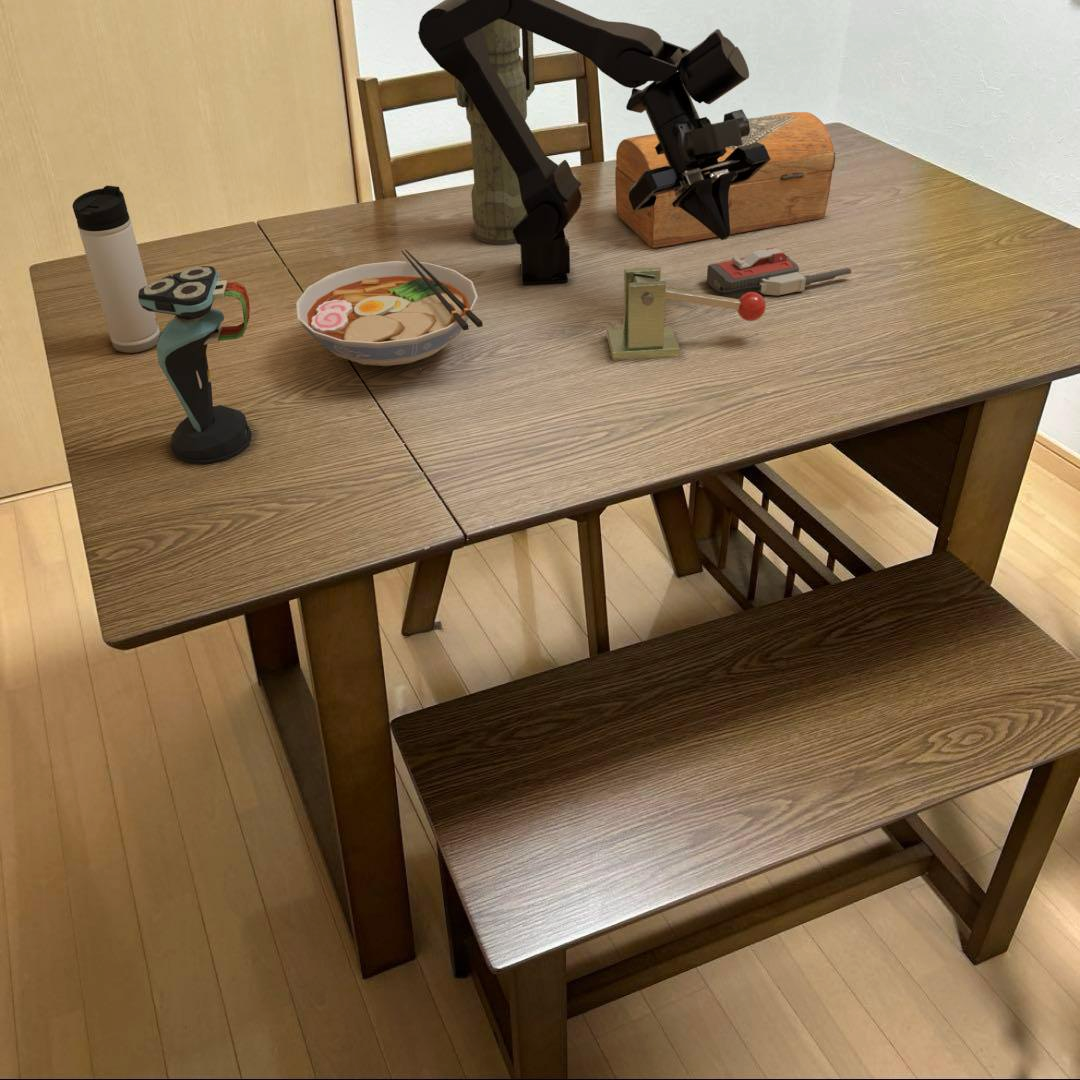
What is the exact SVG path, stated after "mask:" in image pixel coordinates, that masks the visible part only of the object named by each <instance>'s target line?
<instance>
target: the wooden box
mask: <svg viewBox="0 0 1080 1080" xmlns="http://www.w3.org/2000/svg"><path fill="white" fill-rule="evenodd" d="M747 119H748V122H749V127H750V133H749V135H748V136H744V137H741V138H742V144H743V145H740V146H735V145H734V146H730V147H726V151H727V152H726V153H725V154H724V155H723V156H722V157H719V158H718V159H717V160H718V162H720V161H724V160H725V159H726V158H727V157H728V156H729V155H730V154H731V153H732V152H733V151H734V150H735V149H736V148H737V147H741V146H745V145H749V144H753V143H757V142H758V143H761V144H763V145H764V146H765V147H766V149H767V152H768V154H769V156H770V158H771V160H770V161H769V162H768V163H766V164H765V165H764V166H763V167H762V168H761V169H760V170H759V171H758V172H757V173H756V174H754V175H753V176H752V177H751V178H750V179H748V180H746V181H745V182H741V183H737V184H734V185H730V188H729V198H728V205H729V221H730V235H735V234H741V233H746V232H752V231H758V230H763V229H764V230H765V229H769V228H774V227H775V228H776V227H780V226H781V227H782V226H786V225H793V224H799V223H803V222H809V221H816V220H821V219H824V218H825V217H826V213H827V209H828V208H827V207H828V203H829V198H830V193H831V191H830V190H831V185H832V178H833V171H834V169H835V165H836V151H835V149H834V144H833V142H832V138H831V135H830V132H829V131H828V128H827V126H826V125H825V123H823V121H822V120H821V119H820V118H819V117H818V116H816V115H815V114H813V113H811V112H808V111H795V112H784V113H777V114H771V115H765V116H758V117H750V118H747ZM720 122H721V121H720ZM720 122H718V123H720ZM716 123H717V122H714V123H713V124H716ZM658 144H659V141H658V138H657V136H656V134H655V133H651V134H645V135H644V134H643V135H638V136H631V137H628V138H625V139H623V140H621V141H620V142H619V143H618V146H617V149H616V151H615V153H616V154H615V164H616V165H615V175H614V176H615V177H614V182H615V184H614V185H615V208H616V210H615V211H616V216H617V217H619V219H620V220H621V221H623V223H625V225H627V226H628V227H629V228H630V229H631V230H632V231H633V232H634V233H635V234H636V235H637V236H638V237H639V238H640V239H642V240H643V241H644V242H645V243H646V244H647V245H648V246H649V247H651V248H661V247H668V246H673V245H678V244H679V245H680V244H684V243H690V242H695V241H700V240H701V241H702V240H706V239H712V238H718V237H717V236H716V235H715V234H714V233H713V232H711V231H710V230H709V229H708V228H707V227H705V226H704V225H703V224H702V223H701V222H699V221H698V220H697V219H696V218H694V217H693V216H691V215H690V214H689V213H687V212H686V211H684V210H683V209H681V208H680V207H673V205H672V203H673V202H674V201H675V200H676V199H677V198H676V195H675V192H674V190H673V191H669V192H666V193H662V194H658V195H656V201H655V204H654V206H653V207H650V208H647V209H643V210H640V211H636V212H635V211H634V210H633V208H632V205H631V203H630V201H629V190H630V188H631V187H632V186H633V185H634V183H635V182H636V181H637V180H638V179H639V178H640V177H641V176H642V175H643V173H644V172H645V171H648V170H652V169H656V168H660V167H664V166H669V164H668V161H667V159H666V157H665V154H660V155H658V154H657V152H656V149H655V147H656V146H657V145H658ZM708 173H710V172H708ZM706 174H707V173H706Z"/></svg>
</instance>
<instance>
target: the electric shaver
mask: <svg viewBox="0 0 1080 1080" xmlns="http://www.w3.org/2000/svg"><path fill="white" fill-rule="evenodd" d="M226 297H233V298H234V297H235V298H236V299H237V300H238V301H240V303H241V308H242V314H243V315H242V316H243V322H242V323H240V324H238V325H227V326H226V325H225V326H224V325H223V324H222V323H223V322H224V321H225V316H224V313H223V312H222V310H221V309H217V308H212V307H213V303H214V301H217V300H225V298H226ZM138 300H139V303H140V305H141V306H142V308H144V309H146V310H147V311H151V312H155V313H159V314H167V315H173V316H174V318H173V319H171V320H170V321H168V322H167V323H166V325H165V326H164V328H163V329H162V331H160V336H159V338H158V341H157V345H156V350H157V351H156V352H157V363H158V366H159V367H160V369H161V370H162V372H163V374H164V376H165V377H166V379H167V381H168V383H169V384H170V387H171V388H172V389H173V392H174V393H175V394H176V397H177V399H178V401H179V402H180V404H181V406H182V408H183V411H184V412H185V414H186V417H185V418H184V419H183V420H181V422H180V423H179V424H178V425H177V427H176V428H175V429H174V431H173V432H172V434H171V444H170V449H171V453H172V454H173V455H174V457H176V459H178V460H179V461H182V462H185V463H188V464H192V465H209V464H214V463H220V462H225V461H228V460H230V459H231V458H233V457H236V456H238V455H240V454H242V452H244V451H245V450H246V449H247V448H248V447H249V446H250V444H251V440H252V436H253V433H252V431H251V428H250V426H248V422H247V418H246V415H245V414H244V413H243V412H242V411H241V410H239V409H236V408H232V407H228V406H225V405H221V404H219V405H214V404H213V403H214V402H213V386H212V379H211V373H210V367H209V362H208V357H207V349H208V345H216V344H220V341H233V340H238V339H240V338H243V336H244V334H245V332H246V331H247V330H248V329H247V328H248V323H249V320H250V314H251V313H250V312H251V308H250V298H249V294H248V291H247V288H246V286H245V285H243V284H241V283H238V282H237V281H231V282H230V281H229V282H228V280H226V279H225V280H220V275H219V271H217V270H216V268H215V267H214V266H212V265H211V266H209V265H201V266H196V267H191V268H187V269H185V270H183V271H180V272H176V273H173V274H169V275H166V276H165V277H162V278H160V279H157V280H154V281H152V282H151V283H149V284H148V285H147V286H145V287H143V288H141V289H140V290H139V294H138Z"/></svg>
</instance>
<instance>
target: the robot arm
mask: <svg viewBox="0 0 1080 1080" xmlns="http://www.w3.org/2000/svg"><path fill="white" fill-rule="evenodd" d="M498 19H503V20H505V21H508V22H510V23H512V24H514V25H517V26H519V27H521V28H524V29H526V30H528V31H530V32H533V34H535V35H537V36H540V37H542V38H544V39H546V40H549V41H551V42H553V43H556V44H558V45H560V46H562V47H565V48H567V49H569V50H571V51H573V52H576V53H578V54H580V55H583V56H584V57H586V58H587V59H588V60H590V61H591V62H592V64H594V65H595V66H596V68H598V70H599V71H600V72H601V73H602V74H604V75H606V76H607V77H609V79H610V78H611V79H612V80H613V81H615V82H616V83H618V84H619V85H621V86H623V87H624V88H628V89H631V94H630V97H629V99H628V101H627V103H626V105H625V108H626V110H627V111H630V112H635V113H638V114H639V113H640V114H642V113H644V112H646V116H647V118H648V119H649V122H650V124H651V126H652V130H653V131H654V134H656V136H657V138H658V141H659V144H658V145H657V146H656V147H655V149H656V152H657V154H658V155H660V154H665V157H666V159H667V161H668V164H669V166H664V167H660V168H656V169H652V170H648V171H645V172H644V173H643V175H642V176H641V177H640V178H639V179H638V180H637V181H636V182H635V183H634V185H633V186H632V187H631V188H630V190H629V201H630V203H631V205H632V208H633V210H634V211H635V212H636V211H640V210H643V209H647V208H650V207H653V206H654V204H655V201H656V195H658V194H662V193H666V192H669V191H673V190H674V192H675V195H676V198H677V199H676V200H675V201H674V202H673V203H672V205H673V207H680V208H681V209H683V210H684V211H686V212H687V213H689V214H690V215H691V216H693V217H694V218H696V219H697V220H698V221H699V222H701V223H702V224H703V225H704V226H705V227H707V228H708V229H709V230H710V231H711V232H713V233H714V234H715V235H716V236H717V237H716V238H718V239H719V240H721V241H724V240H727V239H728V238H729V237H731V234H730V221H729V205H728V198H729V188H730V185H734V184H737V183H741V182H745V181H746V180H748V179H750V178H751V177H752V176H753V175H754V174H756V173H757V172H758V171H759V170H760V169H761V168H762V167H763V166H764V165H765V164H766V163H768V162H769V161H770V160H771V158H770V156H769V154H768V152H767V149H766V147H765V146H764V145H763V144H761V143H758V142H757V143H753V144H749V145H745V146H741V147H737V148H736V149H735V150H734V151H733V152H732V153H731V154H730V155H729V156H728V157H727V158H726V159H725V160H724V161H720V162H718V160H717V159H718V158H719V157H722V156H723V155H724V154H725V153H726V152H727V151H726V147H730V146H734V145H735V146H740V145H743V144H742V138H741V137H744V136H748V135H749V133H750V127H749V122H748V119H749V118H748V116H746V114H745V111H744V110H743V109H742V108H741V109H738V110H734V111H730V112H727V113H725V114H724V115H723V121H720V123H719V122H715V123H716V124H714V123H711V120H710V118H708V116H704V117H700V115H699V112H698V110H697V108H696V107H695V104H694V101H695V102H697V103H698V104H702V103H704V104H706V105H711V104H713V103H714V102H716V101H717V100H718V99H720V98H721V97H723V96H724V95H726V94H727V93H729V92H730V91H732V90H733V89H734V88H736V87H737V86H739V85H741V84H743V82H745V81H747V80H748V79H749V77H750V70H749V67H748V63H747V62H746V60H745V57H744V55H743V53H742V52H741V50H740V48H739V47H738V46H735V44H734V43H733V42H732V41H731V40H730V39H729V38H728V37H726V36H725V35H724V34H723V33H722V31H721V30H720V29H718V28H716V29H715V30H713V31H712V32H711V33H710V34H709V35H707V37H706V38H705V39H704V40H703V41H701V42H700V43H699V44H697V45H696V46H694V47H693V48H691V49H688V48H684V47H682V46H680V45H677V44H674V43H672V42H668V41H666V40H663V39H662V36H661V35H660V34H659V33H658V32H657V31H656V30H654V29H653V28H650V27H646V26H642V25H638V24H634V23H629V22H624V21H623V22H622V21H608V20H604V19H599V18H597V17H595V16H593V15H590V14H588V13H585V12H584V11H581V10H579V9H577V8H574V7H572V6H570V5H567V4H565V3H563V2H561V1H558V0H443V1H441V2H439V3H438V4H436V5H435V6H434V7H431V8H430V9H428V10H427V11H426V12H425V13H423V15H422V16H421V19H420V21H419V24H418V25H419V26H418V31H417V34H418V39H419V42H420V43H421V45H422V47H423V48H424V50H425V51H426V52H427V53H428V54H429V56H430V57H431V58H432V59H433V60H434V61H435V63H436V64H437V65H438V66H439V67H440V68H441V69H442V70H444V71H445V72H447V73H448V74H449V75H451V76H452V77H453V78H454V77H455V78H456V79H458V80H459V82H460V83H461V84H462V86H463V87H464V89H465V91H466V92H467V94H468V96H469V97H470V99H471V101H472V102H473V104H474V106H475V107H476V109H477V111H478V112H479V114H480V116H481V117H482V119H483V121H484V122H485V124H486V125H487V127H488V129H489V130H490V132H491V134H492V135H493V137H494V139H495V140H496V142H497V144H498V145H499V147H500V149H501V150H502V152H503V154H504V155H505V157H506V158H507V160H508V162H509V163H510V165H511V167H512V168H513V170H514V172H515V173H516V175H517V178H518V182H519V188H520V193H521V199H522V203H523V205H524V207H525V210H526V212H527V214H526V215H525V216H524V217H523V219H522V220H521V221H520V222H519V223H518V225H517V226H516V227H515V228H514V229H513V234H514V237H515V239H516V244H517V245H519V249H520V250H519V253H520V264H519V272H520V279H521V285H522V286H535V285H552V284H553V285H554V284H566V283H568V281H569V278H568V275H570V273H571V254H570V253H571V247H570V246H571V245H570V243H569V240H568V239H567V238H566V234H565V228H566V227H567V226H568V225H569V223H570V222H571V220H572V219H573V218H574V216H575V215H576V214H577V212H578V211H579V209H580V208H581V205H582V204H581V203H582V199H583V197H582V192H581V190H580V187H581V185H582V182H580V181H579V180H578V179H577V178H576V176H574V173H573V171H572V169H571V166H570V164H569V163H568V161H567V159H563V160H562V161H561V162H560V163H559V164H557V163H556V162H554V161H553V160H552V159H551V158H549V157H548V156H547V155H546V154H545V152H544V150H543V149H542V147H541V146H540V143H539V142H538V140H537V138H536V137H535V135H534V133H533V131H532V130H531V128H530V127H529V125H528V123H527V121H526V120H524V118H523V116H522V115H521V113H520V111H519V110H518V108H517V106H516V105H515V103H514V101H513V99H512V98H511V96H510V94H509V93H508V91H507V89H506V88H505V86H504V84H503V82H502V81H501V79H500V77H499V76H498V74H497V72H496V71H495V69H494V67H493V66H492V64H491V62H490V59H489V56H488V50H487V45H486V39H485V34H484V32H483V29H482V28H483V27H485V26H486V25H488V24H490V23H492V22H494V21H496V20H498ZM455 78H454V79H455ZM648 82H651V83H650V84H648V85H647V86H645V85H646V84H647V83H648ZM641 86H642V87H643V86H645V87H644V88H642V89H639V87H641ZM708 172H710V173H708ZM706 173H707V174H706Z"/></svg>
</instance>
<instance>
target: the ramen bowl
mask: <svg viewBox="0 0 1080 1080" xmlns="http://www.w3.org/2000/svg"><path fill="white" fill-rule="evenodd" d="M404 250H405V252H406V253H405V252H404V251H403V250H401V251H400V252H401V253H402V255H403V256H404V258H406V260H407V261H402V260H392V261H382V262H374V263H366V264H365V263H364V264H359V265H355V266H352V267H349V268H346V269H343V270H339V271H336V272H332V273H330V274H328V275H326V276H324V277H322V279H319V280H317V281H315V282H314V283H312V284H310V285H309V286H307V287H306V289H305V290H304V291H303V292H302V294H301V295H300V297H299V298H298V300H296V302H295V304H296V305H295V306H296V318H297V320H298V322H299V323H300V324H301V326H302V327H303V328H304V329H305V330H306V331H307V332H308V333H309V334H310V335H311V336H312V338H314V339H315V340H316V341H318V342H319V343H320V344H321V345H322V346H323V347H324V348H325V349H327V350H328V351H329V352H331V353H332V354H334V356H337V357H339V358H342V359H345V360H348V361H350V362H351V361H352V362H354V363H358V364H361V365H364V366H380V367H390V366H396V365H399V366H400V365H406V364H412V363H415V362H417V361H419V360H423V359H426V358H428V357H431V356H433V355H435V354H437V353H438V352H440V351H441V350H442V349H443V348H445V347H446V346H448V345H450V344H451V343H452V342H453V341H455V339H456V338H457V337H458V336H459V335H460V333H461V332H462V330H463V331H469V329H470V327H469V324H468V320H470V321H471V322H472V323H473V324H474V325H475V326H476V327H477V328H481V327H483V321H482V320H481V319H480V318H479V317H478V316H477V315H476V314H475V313H474V312H473V310H474V307H475V305H476V302H477V301H478V298H479V295H478V293H477V290H476V287H475V284H474V282H473V280H471V279H470V278H468V277H466V276H465V275H463V274H461V273H460V272H458V271H457V270H455V269H452V268H449V267H446V266H441V265H437V264H434V263H430V262H423V261H419V260H418V259H416V257H415V256H413V255H412V254H411V253H410V252H409V251H408V250H407V249H404ZM410 257H411V259H410ZM412 260H413V261H412Z"/></svg>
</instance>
